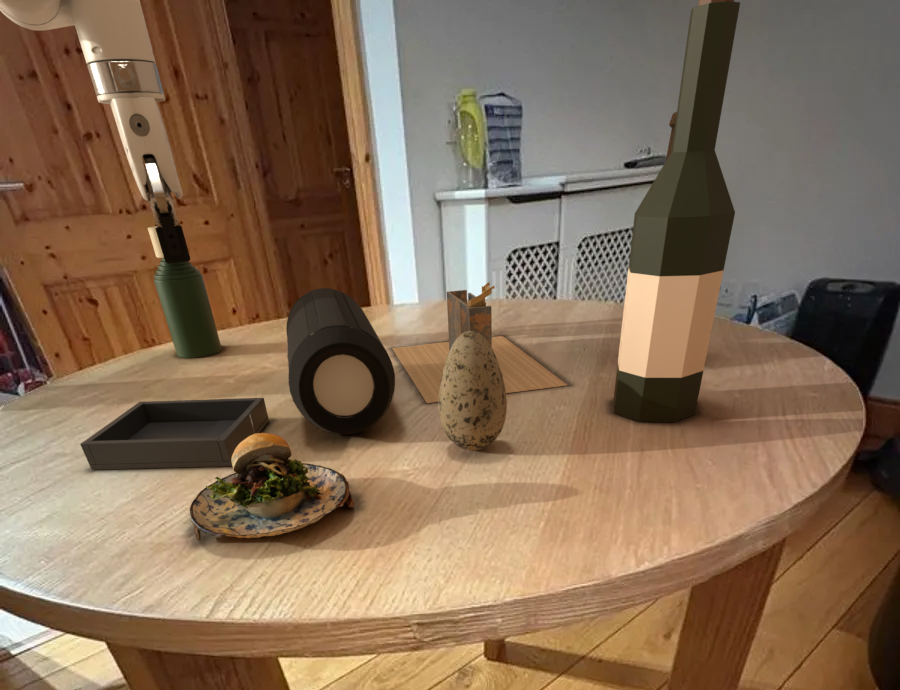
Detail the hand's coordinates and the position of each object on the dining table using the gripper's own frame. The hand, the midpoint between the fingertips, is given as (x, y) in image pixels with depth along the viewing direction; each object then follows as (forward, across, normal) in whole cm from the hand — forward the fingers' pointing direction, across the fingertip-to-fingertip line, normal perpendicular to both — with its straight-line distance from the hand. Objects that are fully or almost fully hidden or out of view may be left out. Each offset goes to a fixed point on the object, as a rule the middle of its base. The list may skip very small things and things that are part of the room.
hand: (177, 258), depth 81 cm
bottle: (+12, 0, +1) cm, 12 cm away
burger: (+12, -57, -2) cm, 59 cm away
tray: (+12, -38, +4) cm, 40 cm away
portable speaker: (+12, -34, -13) cm, 38 cm away
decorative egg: (+12, -53, -20) cm, 58 cm away
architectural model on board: (+12, -28, -31) cm, 43 cm away
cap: (0, 0, +1) cm, 1 cm away
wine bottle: (+12, -52, -40) cm, 67 cm away
